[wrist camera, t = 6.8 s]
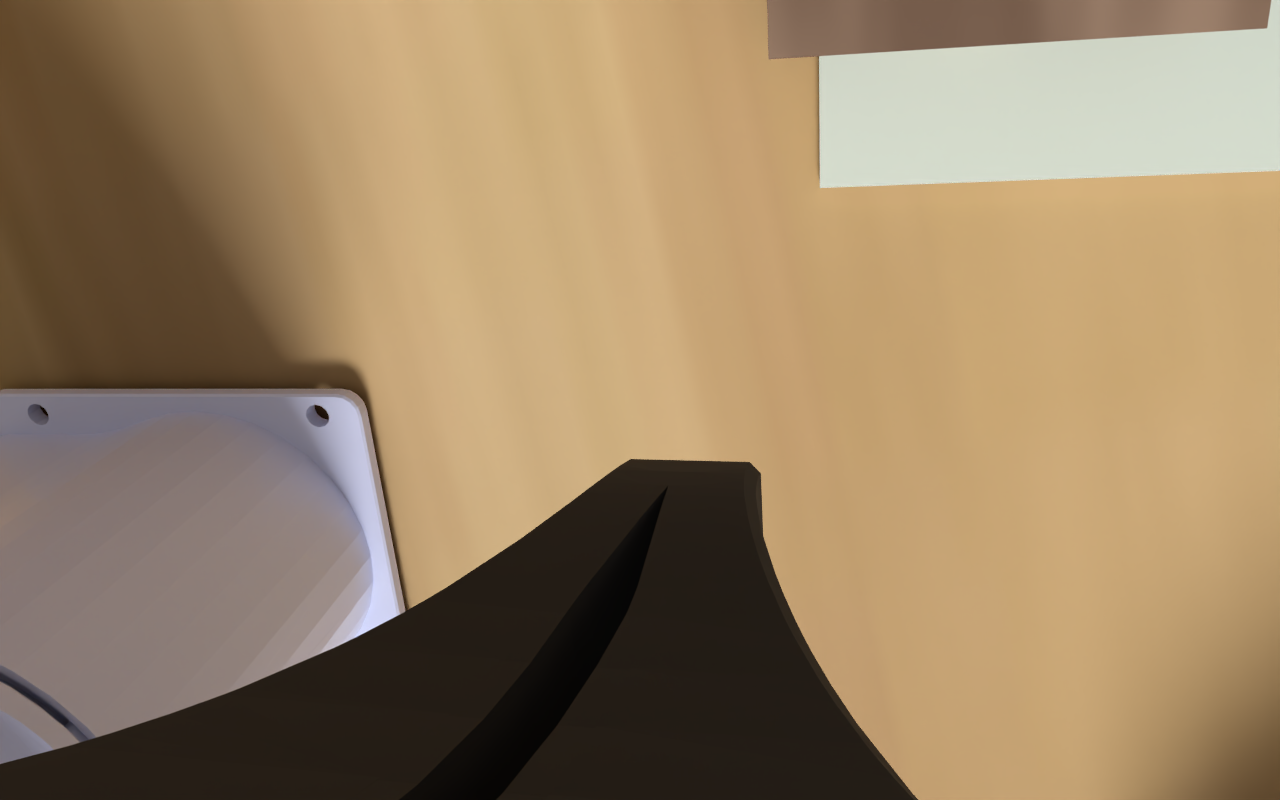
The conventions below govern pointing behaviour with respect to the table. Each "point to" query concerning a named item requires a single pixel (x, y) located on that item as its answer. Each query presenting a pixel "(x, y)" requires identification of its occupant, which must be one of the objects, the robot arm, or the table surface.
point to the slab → (988, 22)
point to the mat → (1053, 109)
